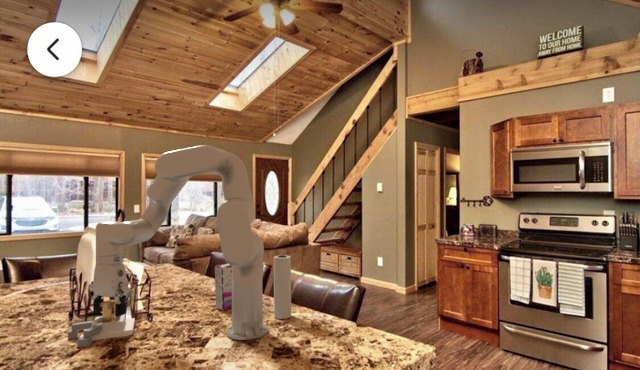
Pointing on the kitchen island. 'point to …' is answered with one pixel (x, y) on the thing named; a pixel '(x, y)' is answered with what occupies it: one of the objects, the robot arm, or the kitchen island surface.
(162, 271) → the kitchen island surface
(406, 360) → the kitchen island surface
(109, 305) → the gold rounded cylinder
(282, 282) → the paper towel roll
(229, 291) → the candy bar box
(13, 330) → the kitchen island surface
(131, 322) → the shaft stand
